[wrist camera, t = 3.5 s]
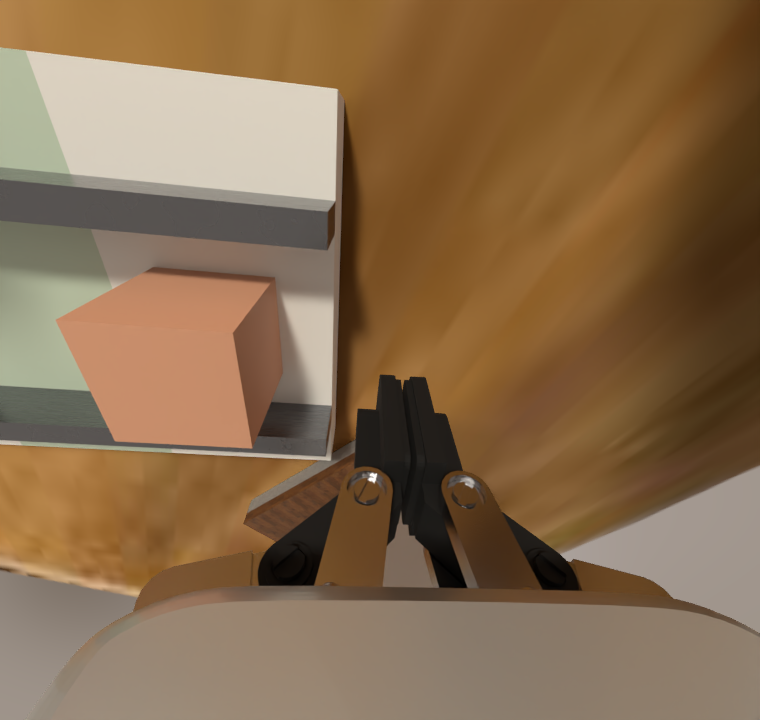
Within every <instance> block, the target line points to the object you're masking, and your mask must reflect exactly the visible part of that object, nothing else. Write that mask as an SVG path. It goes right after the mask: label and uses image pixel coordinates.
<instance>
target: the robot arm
mask: <svg viewBox="0 0 760 720" xmlns="http://www.w3.org/2000/svg"><path fill="white" fill-rule="evenodd" d="M400 513H401V515H402V523H403V525H408V529H409V536H415V539H416V540H417V541H418V542H419V543H420V544H421V545H423V553H424V558H425V561H426V565H427V569H428V572H429V576H430V579H431V583H432V587H433V588H424V587H383V578H384V568H385V559H386V550H387V546H388V545H389V544H390V542H391V541H392V540H393V539H394V538H395V534H396V529H397V525H398V523H399V518H400ZM25 720H760V633H758V632H756V631H755V630H753V629H751V628H750V627H748V626H746V625H744V624H742V623H740V622H738V621H736V620H734V619H732V618H729V617H727V616H724V615H722V614H720V613H717V612H715V611H712V610H710V609H707V608H704V607H701V606H698V605H695V604H692V603H689V602H685V601H681V600H677V599H673V598H672V597H671V596H670V595H669V594H668V593H667V592H666V591H665V590H664V589H663V588H662V587H660V586H659V585H657V584H656V583H655V582H653V581H651V580H648V579H646V578H644V577H640V576H636V575H633V574H629V573H625V572H621V571H618V570H614V569H610V568H606V567H602V566H598V565H594V564H591V563H587V562H583V561H579V560H575V559H573V560H572V561H571V562H568V561H566V560H565V559H564V558H563V557H562V556H561V555H560V554H559V553H558V552H556V551H555V550H553V549H552V548H551V547H549V546H548V545H547V544H545V543H544V542H542V541H541V540H540V539H538V538H537V537H536V536H534V535H533V534H532V533H530V532H529V531H527V530H526V529H525V528H523V527H522V526H521V525H519V524H518V523H516V522H515V521H514V520H512V519H511V518H510V517H508V516H507V515H506V514H504V513H503V512H501V510H500V508H499V506H498V504H497V502H496V500H495V498H494V496H493V494H492V493H491V491H490V489H489V487H488V486H487V485H486V483H485V482H484V481H483V480H482V479H481V478H479V477H478V476H476V475H474V474H472V473H469V472H466V471H463V469H462V466H461V463H460V459H459V456H458V452H457V449H456V446H455V442H454V439H453V435H452V432H451V429H450V425H449V422H448V418H447V416H446V414H441V413H434V409H433V405H432V401H431V397H430V393H429V389H428V385H427V381H426V378H425V377H410V379H409V380H404V385H403V391H402V387H401V380H396V379H395V376H394V375H380V379H379V387H378V396H377V405H376V410H371V409H358V412H357V426H356V441H355V458H354V470H352V471H350V472H349V473H348V474H347V475H346V476H345V477H344V480H343V482H342V484H341V488H340V492H339V494H338V495H337V496H335V497H334V498H333V499H332V500H330V501H329V502H328V503H326V504H325V505H324V506H322V507H321V508H320V509H319V510H317V511H316V512H315V513H313V514H312V515H311V516H309V517H308V518H307V519H306V520H304V521H303V522H302V523H300V524H299V525H298V526H296V527H295V528H294V529H293V530H291V531H290V532H289V533H287V534H286V535H285V536H283V537H282V538H281V539H280V540H278V541H277V542H276V543H274V544H273V545H272V546H271V547H270V548H269V549H268V550H267V551H265V552H260V553H255V554H253V553H252V551H247V552H242V553H237V554H232V555H228V556H223V557H218V558H213V559H208V560H203V561H199V562H194V563H189V564H184V565H179V566H174V567H171V568H169V569H166V570H163V571H162V572H160V573H159V574H157V575H156V576H154V577H153V578H152V579H151V580H150V581H149V582H148V583H147V584H146V585H145V587H144V588H143V589H142V590H141V592H140V594H139V597H138V599H137V601H136V604H135V607H134V610H133V612H132V613H130V614H128V615H126V616H124V617H122V618H120V619H118V620H117V621H115V622H113V623H111V624H110V625H109V626H107V627H105V628H104V629H102V630H101V631H99V632H98V633H97V634H95V635H94V636H93V637H92V638H90V639H89V640H88V641H87V642H86V643H85V644H84V645H83V646H82V647H81V648H80V649H79V650H78V651H77V652H76V653H75V654H74V655H73V656H72V657H71V659H70V660H69V661H68V662H67V663H66V665H65V666H64V667H63V668H62V669H61V671H60V672H59V673H58V674H57V676H56V677H55V678H54V680H53V681H52V682H51V684H50V685H49V687H48V688H47V689H46V690H45V692H44V693H43V695H42V696H41V697H40V699H39V700H38V702H37V703H36V705H35V706H34V707H33V709H32V710H31V712H30V713H29V715H28V716H27V718H26V719H25Z"/></svg>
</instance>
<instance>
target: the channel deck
mask: <svg viewBox="0 0 760 720" xmlns="http://www.w3.org/2000/svg"><path fill="white" fill-rule="evenodd" d="M344 101H345V100H344V99H343V97H342V96H341V94H340V92H339V91H338V89H333V88H325V87H317V86H309V85H300V84H292V83H284V82H276V81H268V80H260V79H252V78H244V77H236V76H227V75H219V74H211V73H203V72H195V71H187V70H179V69H171V68H162V67H154V66H146V65H138V64H130V63H122V62H114V61H106V60H97V59H89V58H81V57H73V56H65V55H57V54H49V53H41V52H32V51H24V50H16V49H8V48H0V167H5V168H15V169H24V170H34V171H44V172H54V173H64V174H74V175H84V176H94V177H104V178H114V179H123V180H133V181H143V182H153V183H163V184H173V185H183V186H193V187H203V188H212V189H222V190H232V191H242V192H252V193H262V194H272V195H282V196H292V197H301V198H311V199H321V200H331V201H335V235H334V237H333V239H332V241H331V244H330V246H329V248H328V250H317V249H306V248H295V247H284V246H273V245H262V244H251V243H240V242H229V241H218V240H207V239H196V238H185V237H174V236H163V235H152V234H141V233H130V232H119V231H108V230H97V229H86V228H75V227H64V226H53V225H42V224H31V223H20V222H10V221H0V386H16V387H33V388H49V389H66V390H82V391H90V390H89V388H88V386H87V383H86V381H85V379H84V377H83V375H82V373H81V371H80V369H79V367H78V365H77V363H76V361H75V359H74V357H73V355H72V353H71V351H70V349H69V347H68V345H67V343H66V341H65V339H64V337H63V335H62V333H61V331H60V329H59V327H58V324H57V322H56V319H58V318H60V317H62V316H63V315H65V314H67V313H69V312H71V311H73V310H75V309H76V308H78V307H80V306H82V305H84V304H86V303H88V302H89V301H91V300H93V299H95V298H97V297H99V296H101V295H102V294H104V293H106V292H108V291H110V290H112V289H114V288H115V287H117V286H119V285H121V284H123V283H125V282H127V281H128V280H130V279H132V278H134V277H136V276H138V275H140V274H141V273H143V272H145V271H147V270H149V269H151V268H152V267H159V268H171V269H182V270H194V271H206V272H218V273H229V274H241V275H253V276H265V277H275V281H276V294H277V306H278V318H279V330H280V342H281V355H282V367H283V374H282V376H281V379H280V381H279V384H278V386H277V389H276V391H275V394H274V396H273V399H272V401H271V402H280V403H296V404H313V405H329V406H332V418H331V428H330V434H329V441H328V447H327V454H326V457H323V456H304V455H284V454H264V453H244V452H225V451H205V450H185V449H166V448H146V447H126V446H106V445H87V444H67V443H47V442H28V441H8V440H0V444H7V445H27V446H47V447H67V448H87V449H107V450H127V451H147V452H167V453H187V454H207V455H227V456H247V457H267V458H287V459H307V460H327V461H331V455H332V448H333V440H334V433H335V425H336V389H337V353H338V317H339V281H340V245H341V209H342V173H343V137H344Z"/></svg>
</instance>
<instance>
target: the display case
mask: <svg viewBox="0 0 760 720" xmlns="http://www.w3.org/2000/svg"><path fill="white" fill-rule="evenodd" d="M355 441H356V440H354V441H352V442H351V443H349V444H347V445H345V446H344V447H342V448H340V449H339V450H337V451H335V452H333V453H332V455H331V461H327V460H320V461H318V462H316V463H315V464H313V465H311V466H309V467H308V468H306V469H304V470H302V471H301V472H299V473H297V474H296V475H294V476H292V477H290V478H289V479H287V480H285V481H284V482H282V483H280V484H278V485H277V486H275V487H273V488H272V489H270V490H268V491H266V492H265V493H263V494H261V495H260V496H258V497H256V498H254V499H253V500H252V501H251V503H250V506H249V509H248V512H247V515H246V518H245V521H244V524H245V525H247V526H249V527H250V528H252V529H254V530H256V531H258V532H260V533H261V534H263V535H265V536H267V537H269V538H271V539H272V540H274V541H276V542H277V541H278V540H280V539H281V538H282V537H283V536H285V535H286V534H287V533H289V532H290V531H291V530H293V529H294V528H295V527H296V526H298V525H299V524H300V523H302V522H303V521H304V520H306V519H307V518H308V517H309V516H311V515H312V514H313V513H315V512H316V511H317V510H319V509H320V508H321V507H322V506H324V505H325V504H326V503H328V502H329V501H330V500H332V499H333V498H334V497H335V496H337V495H338V494H339V492H340V488H341V484H342V482H343V480H344V477H345V476H346V475H347V474H348V473H349V472H350V471H352V470H354V458H355ZM383 587H424V588H433V587H432V583H431V579H430V576H429V572H428V569H427V565H426V561H425V558H424V553H423V545H421V544H420V543H419V542H418V541H417V540H416V539H415V536H409V529H408V525H403V523H402V515H401V513H400V518H399V523H398V525H397V529H396V534H395V538H394V539H393V540H392V541H391V542H390V544H389V545H388V546H387V550H386V559H385V568H384V578H383Z"/></svg>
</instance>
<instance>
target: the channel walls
mask: <svg viewBox="0 0 760 720" xmlns="http://www.w3.org/2000/svg"><path fill="white" fill-rule="evenodd" d="M0 221H10V222H20V223H31V224H42V225H53V226H64V227H75V228H86V229H97V230H108V231H119V232H130V233H141V234H152V235H163V236H174V237H185V238H196V239H207V240H218V241H229V242H240V243H251V244H262V245H273V246H284V247H295V248H306V249H317V250H328V248H329V246H330V244H331V241H332V239H333V237H334V235H335V201H331V200H321V199H311V198H301V197H292V196H282V195H272V194H262V193H252V192H242V191H232V190H222V189H212V188H203V187H193V186H183V185H173V184H163V183H153V182H143V181H133V180H123V179H114V178H104V177H94V176H84V175H74V174H64V173H54V172H44V171H34V170H24V169H15V168H5V167H0ZM331 418H332V406H329V405H313V404H296V403H280V402H271V404H270V406H269V409H268V411H267V414H266V416H265V419H264V421H263V423H262V426H261V428H260V431H259V433H258V436H257V438H256V441H255V443H254V446H253V448H233V447H214V446H194V445H175V444H156V443H136V442H117V441H115V440H114V438H113V436H112V434H111V432H110V430H109V428H108V426H107V424H106V422H105V420H104V418H103V416H102V414H101V412H100V410H99V408H98V406H97V404H96V402H95V400H94V398H93V396H92V394H91V392H90V391H82V390H66V389H49V388H33V387H16V386H0V440H8V441H28V442H47V443H67V444H87V445H106V446H126V447H146V448H166V449H185V450H205V451H225V452H244V453H264V454H284V455H304V456H323V457H326V454H327V447H328V441H329V434H330V428H331Z"/></svg>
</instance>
